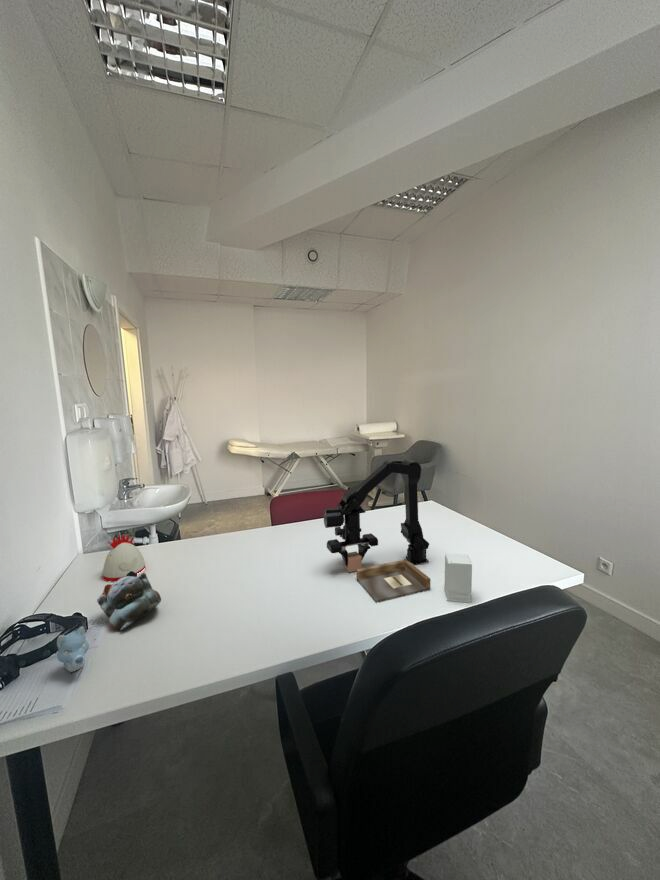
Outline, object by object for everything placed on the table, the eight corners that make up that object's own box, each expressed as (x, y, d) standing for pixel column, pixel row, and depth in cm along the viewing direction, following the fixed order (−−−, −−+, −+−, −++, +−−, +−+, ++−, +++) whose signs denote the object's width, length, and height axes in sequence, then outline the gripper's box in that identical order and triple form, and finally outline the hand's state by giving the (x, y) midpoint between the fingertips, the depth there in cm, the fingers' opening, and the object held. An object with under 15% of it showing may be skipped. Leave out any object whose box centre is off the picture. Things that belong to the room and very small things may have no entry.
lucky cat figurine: (108, 639, 98) (87, 592, 99) (114, 631, 108) (95, 589, 110) (163, 606, 105) (144, 563, 106) (164, 602, 116) (146, 563, 117)
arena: (406, 569, 133) (406, 559, 132) (430, 589, 119) (430, 578, 118) (356, 580, 126) (356, 569, 126) (376, 602, 112) (376, 590, 112)
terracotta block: (356, 563, 137) (356, 551, 137) (361, 569, 133) (361, 556, 132) (344, 566, 136) (344, 553, 135) (349, 572, 131) (349, 559, 130)
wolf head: (66, 688, 81) (61, 648, 80) (56, 669, 87) (52, 631, 86) (97, 672, 86) (93, 634, 85) (86, 655, 92) (82, 619, 90)
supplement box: (471, 603, 111) (472, 564, 109) (446, 601, 112) (447, 562, 111) (467, 590, 118) (468, 554, 116) (444, 588, 119) (444, 552, 118)
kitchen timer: (98, 573, 135) (94, 535, 133) (137, 560, 145) (134, 525, 143) (110, 586, 126) (105, 545, 124) (151, 571, 136) (147, 533, 134)
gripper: (365, 514, 143) (366, 551, 145) (321, 521, 136) (322, 560, 138) (378, 523, 132) (379, 563, 134) (331, 531, 126) (332, 573, 128)
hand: (352, 564), depth 134 cm, fingers closed on terracotta block, 5 cm apart
